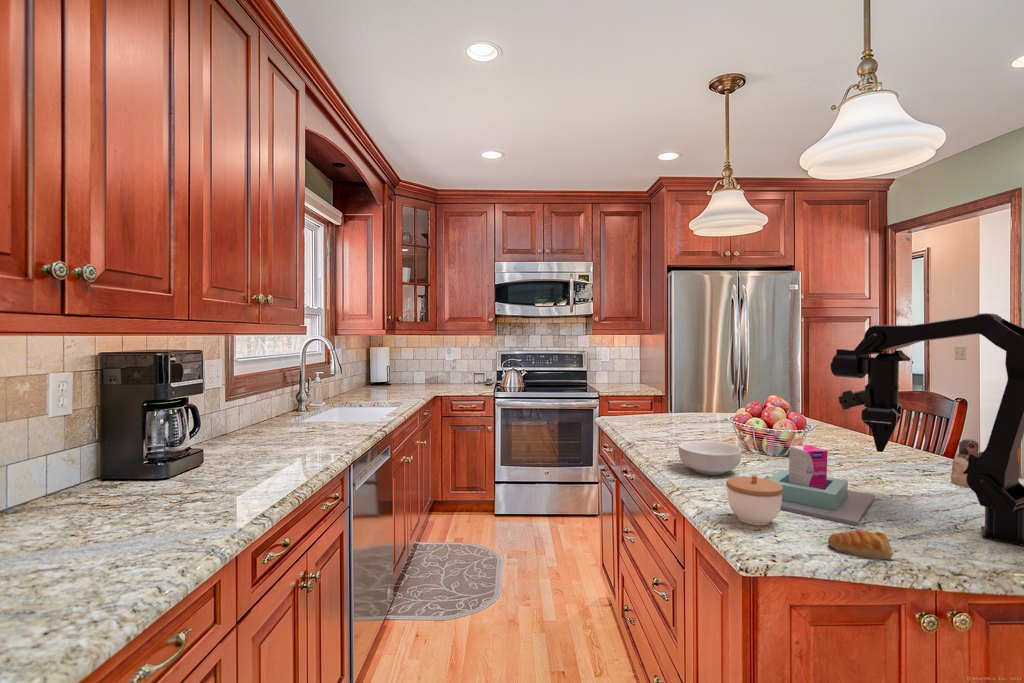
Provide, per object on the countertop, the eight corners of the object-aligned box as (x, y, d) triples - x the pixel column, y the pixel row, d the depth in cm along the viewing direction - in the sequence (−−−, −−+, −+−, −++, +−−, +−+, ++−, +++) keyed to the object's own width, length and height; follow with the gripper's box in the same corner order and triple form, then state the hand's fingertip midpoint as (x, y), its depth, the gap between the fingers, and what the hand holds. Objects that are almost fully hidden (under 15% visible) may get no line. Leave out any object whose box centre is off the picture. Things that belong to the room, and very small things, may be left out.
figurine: (985, 484, 135) (986, 438, 134) (989, 490, 129) (990, 443, 129) (949, 479, 139) (950, 435, 139) (952, 485, 133) (952, 439, 133)
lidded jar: (742, 530, 102) (742, 483, 102) (717, 511, 113) (717, 469, 113) (794, 529, 103) (794, 482, 103) (764, 510, 114) (764, 468, 114)
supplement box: (805, 500, 118) (805, 450, 118) (787, 492, 124) (788, 445, 124) (827, 499, 119) (828, 450, 119) (809, 491, 125) (809, 444, 125)
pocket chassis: (874, 498, 123) (875, 480, 123) (857, 526, 105) (857, 505, 105) (766, 478, 139) (767, 462, 139) (735, 500, 121) (736, 481, 121)
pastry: (834, 556, 91) (835, 534, 91) (822, 541, 98) (822, 521, 98) (896, 562, 89) (896, 540, 89) (879, 547, 95) (879, 526, 95)
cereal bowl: (671, 463, 155) (671, 440, 155) (727, 464, 155) (727, 440, 154) (688, 479, 138) (688, 453, 138) (751, 480, 138) (751, 454, 138)
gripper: (847, 375, 130) (846, 437, 130) (835, 380, 116) (834, 450, 116) (902, 378, 123) (901, 443, 123) (896, 384, 109) (895, 457, 109)
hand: (881, 448), depth 118 cm, fingers open, 9 cm apart
